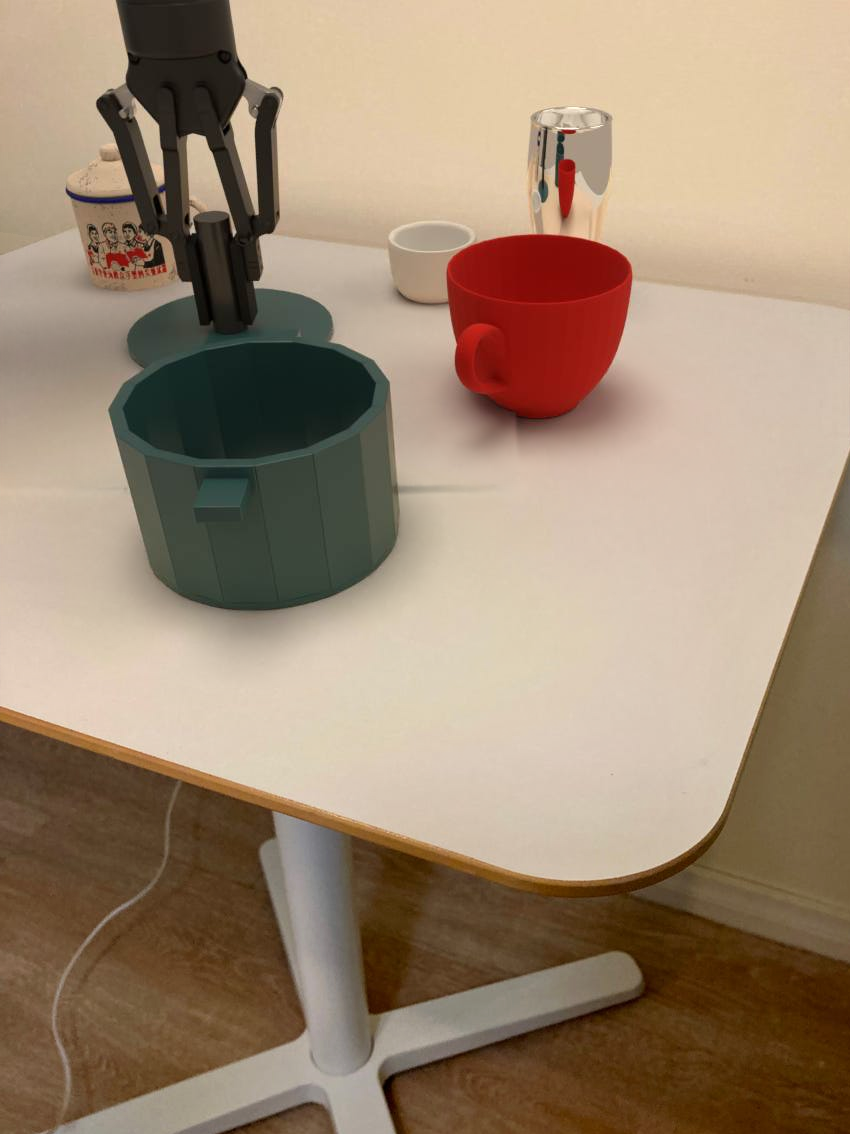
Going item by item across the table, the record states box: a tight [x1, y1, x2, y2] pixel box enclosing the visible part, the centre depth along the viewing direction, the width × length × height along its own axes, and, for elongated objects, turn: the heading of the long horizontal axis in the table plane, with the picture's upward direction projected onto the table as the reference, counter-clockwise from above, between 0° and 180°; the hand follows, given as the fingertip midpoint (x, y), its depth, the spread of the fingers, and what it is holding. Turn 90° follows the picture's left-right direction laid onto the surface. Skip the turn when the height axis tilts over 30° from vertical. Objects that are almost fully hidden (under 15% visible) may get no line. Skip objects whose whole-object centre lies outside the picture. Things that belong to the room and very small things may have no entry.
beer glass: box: [526, 106, 614, 243], centre depth 87 cm, size 7×7×15 cm
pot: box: [107, 329, 400, 611], centre depth 62 cm, size 16×21×10 cm
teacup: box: [387, 220, 478, 305], centre depth 92 cm, size 10×8×5 cm
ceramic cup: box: [446, 233, 633, 419], centre depth 74 cm, size 13×17×10 cm
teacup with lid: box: [65, 142, 210, 292], centre depth 94 cm, size 12×9×12 cm
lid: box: [126, 210, 334, 369], centre depth 83 cm, size 17×17×10 cm
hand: (229, 318), depth 85 cm, fingers closed on lid, 3 cm apart
